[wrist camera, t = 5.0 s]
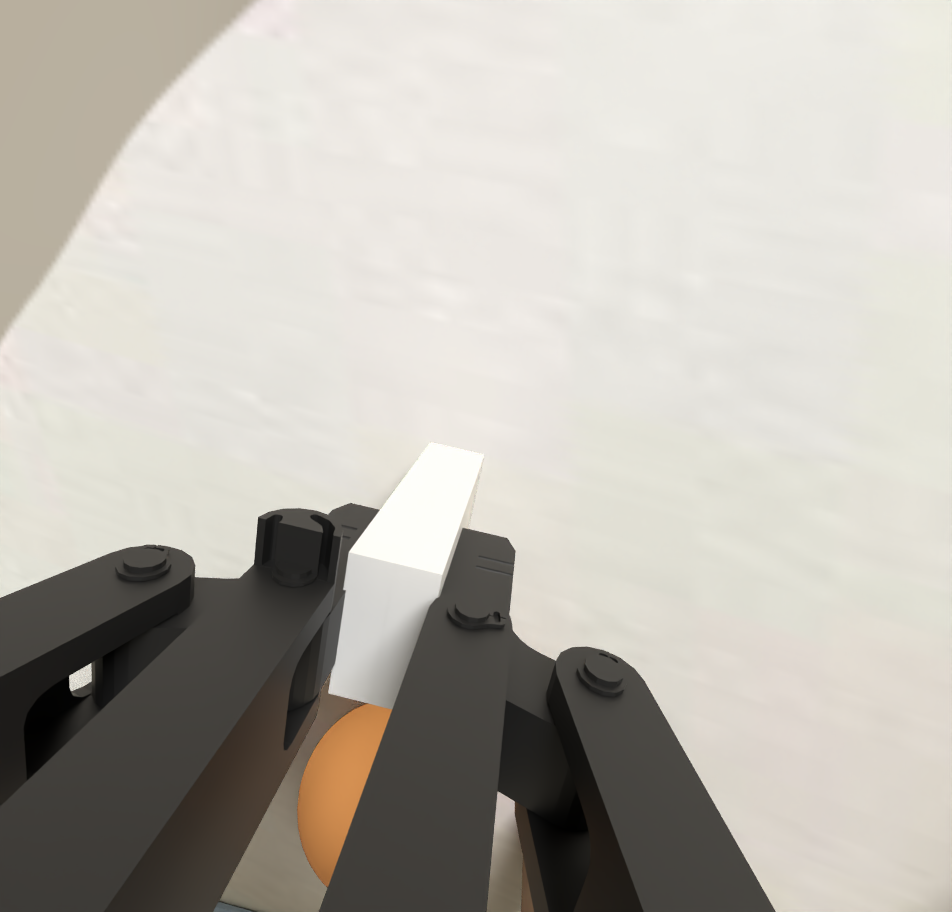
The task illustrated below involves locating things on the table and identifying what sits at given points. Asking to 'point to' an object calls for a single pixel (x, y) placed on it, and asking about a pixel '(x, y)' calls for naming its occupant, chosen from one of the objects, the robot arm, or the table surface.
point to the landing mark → (228, 908)
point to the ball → (337, 784)
